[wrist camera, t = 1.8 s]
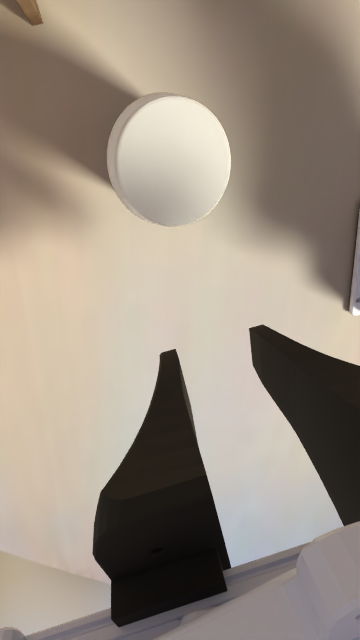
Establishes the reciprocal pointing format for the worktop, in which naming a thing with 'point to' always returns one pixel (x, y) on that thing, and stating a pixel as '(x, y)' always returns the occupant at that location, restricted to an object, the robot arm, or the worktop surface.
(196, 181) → the supplement bottle
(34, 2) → the tag dock
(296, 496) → the worktop surface
